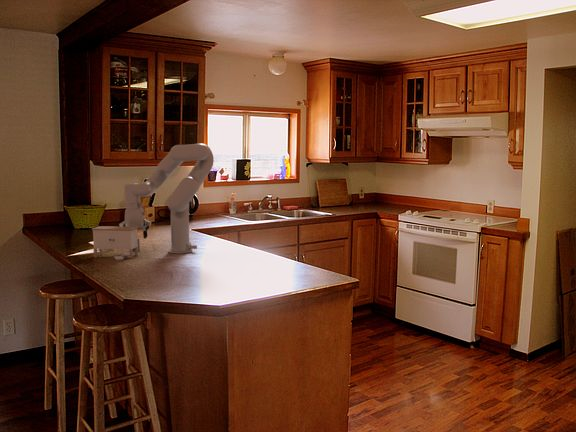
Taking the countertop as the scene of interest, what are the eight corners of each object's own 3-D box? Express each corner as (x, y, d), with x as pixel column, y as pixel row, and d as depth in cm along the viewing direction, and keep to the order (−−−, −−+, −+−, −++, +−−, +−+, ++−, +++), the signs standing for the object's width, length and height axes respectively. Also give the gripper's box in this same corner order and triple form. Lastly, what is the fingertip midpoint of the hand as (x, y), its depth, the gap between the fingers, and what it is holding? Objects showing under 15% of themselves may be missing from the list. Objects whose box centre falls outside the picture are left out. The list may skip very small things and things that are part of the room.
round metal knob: (125, 259, 287) (125, 255, 287) (121, 261, 283) (121, 257, 283) (116, 259, 288) (116, 255, 288) (113, 260, 283) (113, 256, 283)
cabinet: (138, 255, 297) (138, 226, 295) (131, 258, 288) (131, 229, 286) (100, 254, 299) (99, 226, 298) (92, 257, 290) (91, 228, 288)
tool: (139, 251, 307) (139, 238, 306) (127, 257, 290) (126, 244, 289) (132, 251, 308) (132, 238, 307) (119, 257, 291) (119, 244, 290)
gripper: (151, 205, 305) (154, 236, 307) (120, 206, 307) (123, 238, 309) (146, 206, 297) (149, 239, 300) (115, 208, 300) (118, 240, 302)
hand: (136, 238), depth 304 cm, fingers open, 9 cm apart
